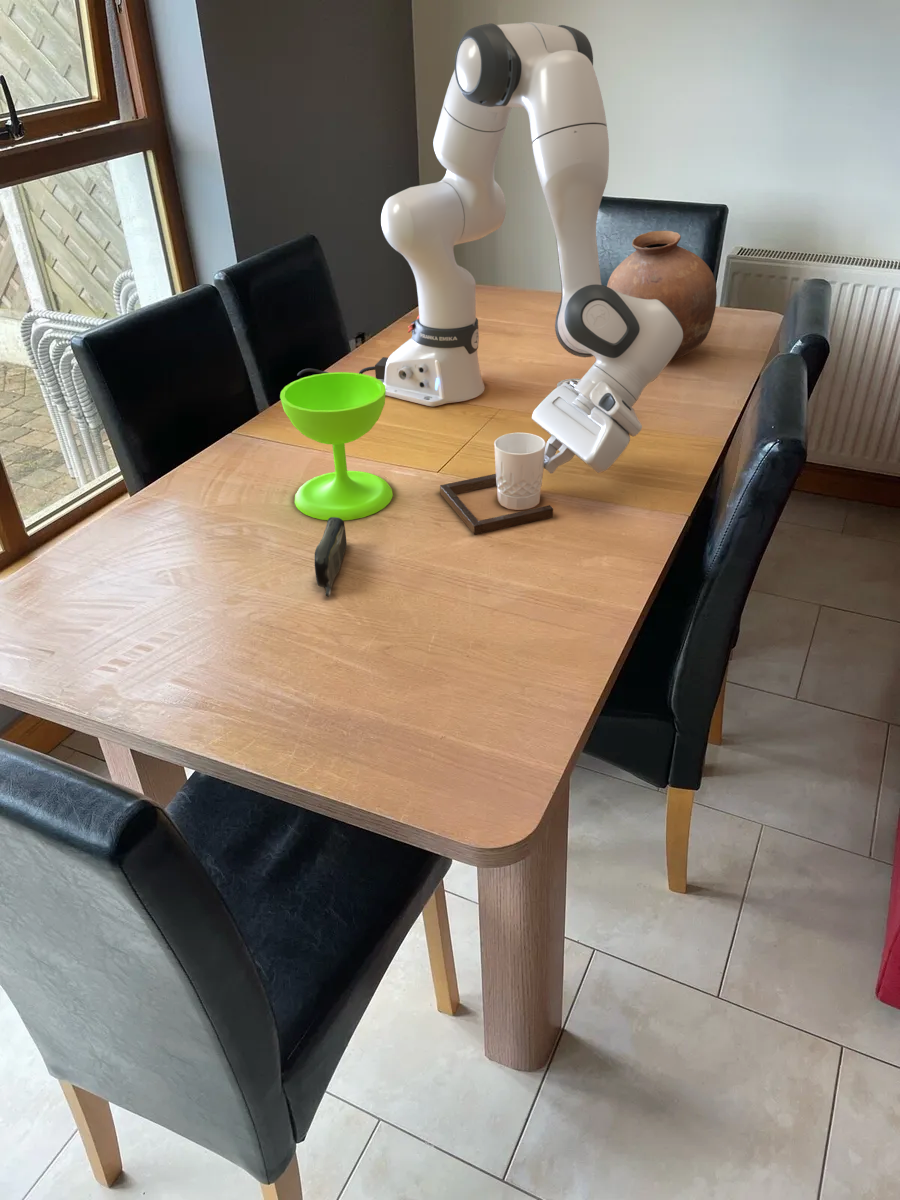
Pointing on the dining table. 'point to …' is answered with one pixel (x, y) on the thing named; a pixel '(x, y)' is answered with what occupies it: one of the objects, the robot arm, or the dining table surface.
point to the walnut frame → (489, 524)
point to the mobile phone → (330, 553)
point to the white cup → (519, 469)
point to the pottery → (670, 283)
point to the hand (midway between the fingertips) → (544, 467)
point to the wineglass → (337, 441)
